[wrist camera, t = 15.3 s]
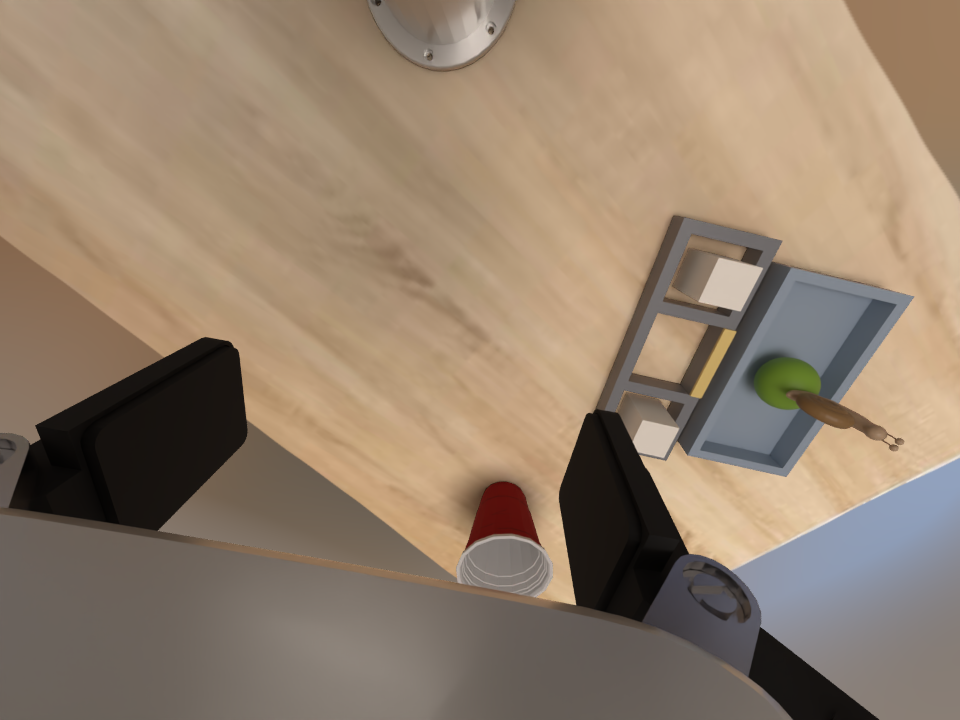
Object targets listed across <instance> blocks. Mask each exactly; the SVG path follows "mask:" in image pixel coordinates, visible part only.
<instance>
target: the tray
mask: <svg viewBox="0 0 960 720" xmlns="http://www.w3.org/2000/svg"><path fill="white" fill-rule="evenodd" d="M913 298H914V296H910V295H906V294H902V293H899V292H895V291H891V290H887V289H884V288H880V287H876V286H871V285H867V284H863V283H859V282H855V281H850V280H846V279H842V278H838V277H834V276H829V275H825V274H821V273H817V272H812V271H808V270H804V269H800V268H796V267H791V266H787V265H783V264H779V263H775V262H771V264H770V266H769V268H768V269H767V271H766V273H765V275H764V277H763V279H762V281H761V283H760V285H759V286H758V288H757V290H756V292H755V294H754V296H753V298H752V300H751V302H750V303H749V305H748V307H747V309H746V311H745V313H744V315H743V317H742V319H741V320H740V322H739V324H738V326H737V328H736V330H735V331H737V332H736V334H735V336H734V338H733V340H732V342H731V344H730V346H729V348H728V349H727V351H726V353H725V355H724V357H723V359H722V361H721V363H720V364H719V366H718V368H717V370H716V372H715V374H714V376H713V378H712V379H711V381H710V383H709V385H708V387H707V389H706V391H705V393H704V395H703V396H702V398H699V400H698V402H697V404H696V406H695V407H694V409H693V411H692V413H691V415H690V417H689V419H688V421H687V423H686V424H685V426H684V428H683V430H682V432H681V434H680V436H679V438H678V442H679V443H680V445H681V446H682V448H683V449H684V451H685V452H686V454H687V455H689V456H693V457H698V458H703V459H707V460H712V461H716V462H721V463H725V464H730V465H734V466H739V467H744V468H748V469H753V470H757V471H762V472H766V473H771V474H775V475H780V476H784V477H787V475H788V474H789V472H790V471H791V470H792V468H793V467H794V465H795V464H796V463H797V461H798V460H799V458H800V457H801V456H802V454H803V453H804V451H805V450H806V449H807V447H808V446H809V444H810V443H811V441H812V440H813V439H814V437H815V436H816V434H817V433H818V432H819V430H820V429H821V427H822V426H823V425H824V423H823V422H821V421H819V420H817V419H815V418H813V417H812V416H810V415H808V414H807V413H805V412H804V411H803V410H801V409H800V408H799V409H794V410H783V409H778V408H775V407H772V406H770V405H768V404H766V403H765V402H764V401H762V400H761V399H760V397H759V396H758V395H757V393H756V391H755V388H754V377H755V374H756V372H757V371H758V369H759V368H760V367H761V366H762V365H763V364H765V363H766V362H768V361H770V360H772V359H776V358H781V357H791V358H796V359H800V360H802V361H805V362H807V363H808V364H810V365H811V366H812V367H813V368H814V369H815V370H816V371H817V373H818V375H819V377H820V380H821V389H820V392H819V394H818V395H819V396H821V397H824V398H827V399H830V400H832V401H835V402H837V403H838V404H839V402H840V401H841V399H842V398H843V396H844V395H845V394H846V392H847V391H848V389H849V388H850V387H851V385H852V384H853V382H854V381H855V380H856V378H857V377H858V375H859V374H860V373H861V371H862V370H863V368H864V367H865V366H866V364H867V363H868V361H869V360H870V358H871V357H872V356H873V354H874V353H875V351H876V350H877V349H878V347H879V346H880V344H881V343H882V342H883V340H884V339H885V337H886V336H887V335H888V333H889V332H890V330H891V329H892V328H893V326H894V325H895V323H896V322H897V320H898V319H899V318H900V316H901V315H902V313H903V312H904V311H905V309H906V308H907V306H908V305H909V304H910V302H911V301H912V299H913Z"/></svg>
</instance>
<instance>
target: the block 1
mask: <svg viewBox="0 0 960 720" xmlns="http://www.w3.org/2000/svg"><path fill="white" fill-rule="evenodd" d="M618 413H619V415H620V416H621V419H622V421H623V423H624V425H625V427H626V429H627V431H628V433H629V435H630V437H631V439H632V441H633V443H634V445H635V448H636V450H637V452H639V453H643V454H648V455H652V456H657V457H661V458H664V457H665V455H666V453H667V451H668V449H669V447H670V445H671V444H672V442H673V440H674V438H675V436H676V434H677V432H678V430H679V427H678V425H677V424H676V423H675V421H674V420H673V418H672V417H671V416H670V414H669V413H668V411H667V410H666V409H665V407H664V406H663V405H662V403H661V402H660V400H659V399H655V398H650V397H646V396H641V395H637V394H632V393H628V392H626V394H625V397H624V399H623V401H622V404H621V406H620V408H619V410H618Z"/></svg>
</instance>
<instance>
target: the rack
mask: <svg viewBox="0 0 960 720" xmlns="http://www.w3.org/2000/svg"><path fill="white" fill-rule="evenodd" d="M691 234H694V235H698V236H703V237H707V238H711V239H715V240H719V241H724V242H728V243H732V244H736V245H740V246H745V247H748V248H747V250H746V252H745V254H744V256H743V258H742V260H741V261H742V262H745V263H749V264H752V265H755V266H758V267H761V268H763V270H762V272H761V274H760V275H759V277H758V279H757V281H756V283H755V285H754V287H753V289H752V291H751V293H750V295H749V296H748V298H747V300H746V302H745V304H744V306H743V308H742V310H741V312H740V311H736V310H732V309H727V308H723V307H718V309H717V310H716V309H712V308H707V307H703V306H699V305H694V304H690V303H686V302H681V301H677V300H673V299H668V298H664V297H665V294H666V292H667V290H668V287H669V285H670V283H671V280H672V278H673V276H674V273H675V271H676V269H677V266H678V264H679V262H680V259H681V257H682V255H683V252H684V250H685V248H686V245H687V243H688V241H689V238H690V236H691ZM781 243H782V241H781V240H777V239H773V238H769V237H764V236H760V235H756V234H752V233H748V232H744V231H739V230H735V229H731V228H727V227H723V226H718V225H714V224H710V223H706V222H702V221H698V220H693V219H689V218H685V217H679V216H673V219H672V221H671V224H670V226H669V229H668V231H667V234H666V236H665V239H664V241H663V243H662V246H661V248H660V251H659V253H658V256H657V258H656V261H655V263H654V266H653V268H652V271H651V273H650V276H649V278H648V281H647V283H646V286H645V288H644V291H643V293H642V296H641V298H640V301H639V303H638V306H637V308H636V311H635V313H634V315H633V318H632V320H631V323H630V325H629V328H628V330H627V333H626V335H625V338H624V340H623V343H622V345H621V348H620V350H619V353H618V355H617V358H616V360H615V363H614V365H613V368H612V370H611V373H610V375H609V378H608V380H607V383H606V385H605V387H604V390H603V392H602V395H601V397H600V400H599V402H598V405H597V407H596V409H600V410H605V411H611V412H615V411H616V408H617V406H618V404H619V401H620V399H621V397H622V394H623V392H624V390H625V391H629V392H633V393H638V394H642V395H647V396H651V397H656V398H660V399H665V400H669V401H672V402H671V404H670V406H669V408H668V410H667V411H668V413H669V414H670V416H671V417H672V418H673V420H674V421H675V423H676V424H677V425H678V427H679V430H678V432H677V434H676V436H675V438H674V440H673V442H672V444H671V445H670V447H669V449H668V451H667V453H666V455H665V457H664V458H661V457H657V456H652V455H648V454H643V453H639V452H638V454H639V455H643V456H647V457H652V458H656V459H661V460H665V461H666V460H667V458H668V457H669V455H670V453H671V451H672V449H673V447H674V445H675V443H676V441H677V440H678V438H679V436H680V434H681V432H682V430H683V428H684V426H685V424H686V423H687V421H688V419H689V417H690V415H691V413H692V411H693V409H694V407H695V406H696V404H697V402H698V400H699V398H702V396H703V395H704V393H705V391H706V389H707V387H708V385H709V383H710V381H711V379H712V378H713V376H714V374H715V372H716V370H717V368H718V366H719V364H720V363H721V361H722V359H723V357H724V355H725V353H726V351H727V349H728V348H729V346H730V344H731V342H732V340H733V338H734V336H735V334H736V332H737V331H735V330H736V328H737V326H738V324H739V322H740V320H741V319H742V317H743V315H744V313H745V311H746V309H747V307H748V305H749V303H750V302H751V300H752V298H753V296H754V294H755V292H756V290H757V288H758V286H759V285H760V283H761V281H762V279H763V277H764V275H765V273H766V271H767V269H768V268H769V266H770V264H771V262H772V260H773V258H774V256H775V254H776V252H777V250H778V249H779V247H780V245H781ZM657 313H661V314H665V315H670V316H674V317H678V318H683V319H687V320H691V321H696V322H700V323H704V324H709V327H708V329H707V331H706V333H705V335H704V337H703V339H702V341H701V343H700V345H699V347H698V349H697V351H696V353H695V355H694V357H693V359H692V361H691V363H690V365H689V367H688V369H687V371H686V373H685V375H684V377H683V379H682V382H681V384H677V383H672V382H668V381H663V380H659V379H655V378H650V377H646V376H641V375H637V374H632V371H633V369H634V367H635V364H636V362H637V360H638V357H639V355H640V353H641V350H642V348H643V346H644V343H645V341H646V339H647V336H648V334H649V332H650V329H651V327H652V325H653V322H654V320H655V318H656V315H657Z"/></svg>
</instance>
